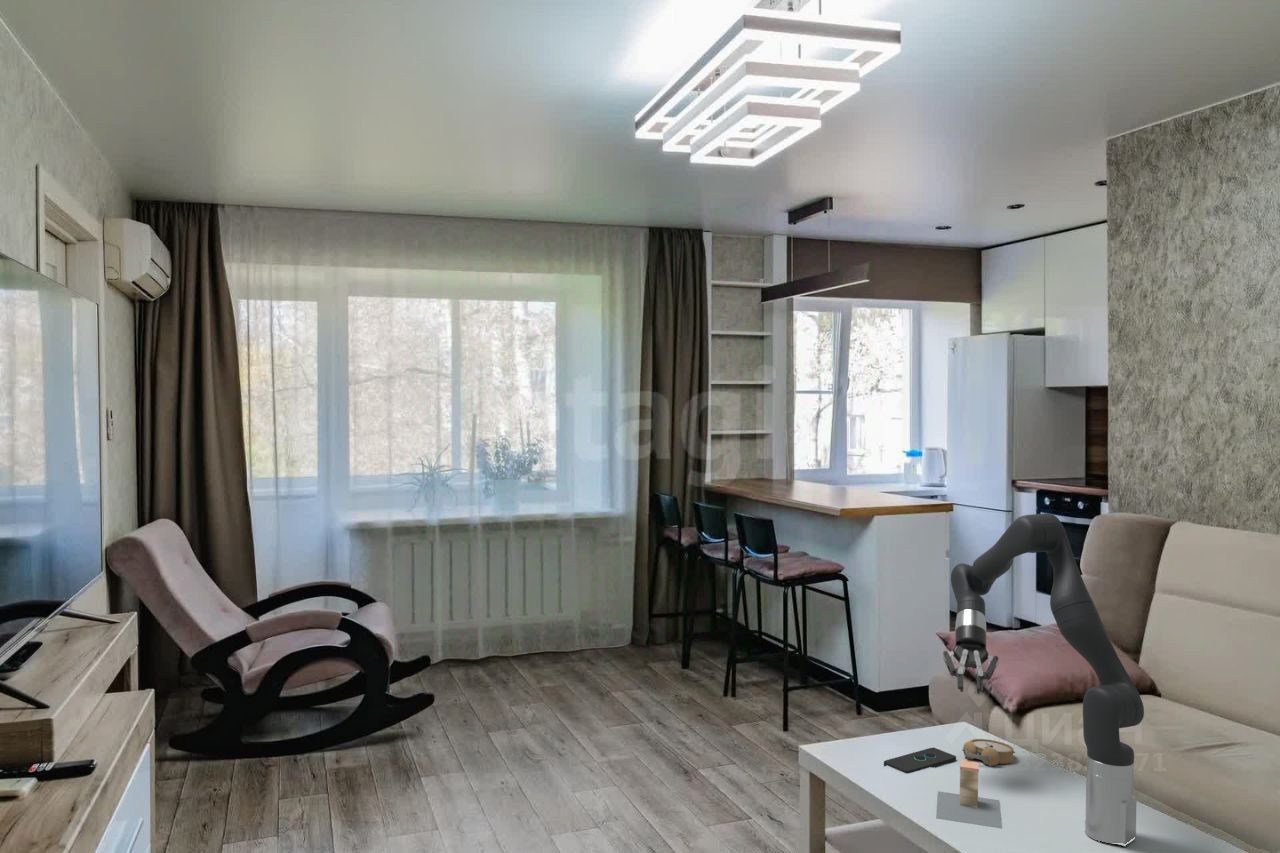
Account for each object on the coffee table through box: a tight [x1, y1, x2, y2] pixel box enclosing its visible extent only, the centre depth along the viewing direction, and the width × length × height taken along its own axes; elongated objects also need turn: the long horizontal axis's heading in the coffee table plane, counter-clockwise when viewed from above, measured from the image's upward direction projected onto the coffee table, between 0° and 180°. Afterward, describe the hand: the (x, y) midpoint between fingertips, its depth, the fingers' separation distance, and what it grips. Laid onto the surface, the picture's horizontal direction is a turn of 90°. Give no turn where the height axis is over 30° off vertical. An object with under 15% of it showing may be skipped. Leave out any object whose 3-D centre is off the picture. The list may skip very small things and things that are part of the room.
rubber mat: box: [935, 790, 1003, 829], centre depth 214 cm, size 14×16×1 cm
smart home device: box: [883, 747, 957, 774], centre depth 243 cm, size 8×2×20 cm
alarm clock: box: [961, 738, 1016, 767], centre depth 247 cm, size 11×5×15 cm
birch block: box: [959, 760, 980, 808], centre depth 217 cm, size 4×4×9 cm
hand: (970, 691), depth 227 cm, fingers open, 3 cm apart
